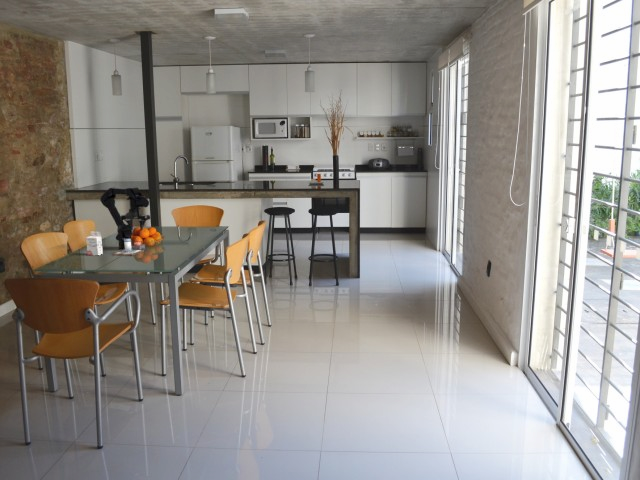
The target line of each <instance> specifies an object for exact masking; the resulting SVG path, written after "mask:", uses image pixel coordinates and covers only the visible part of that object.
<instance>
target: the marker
mask: <svg viewBox="0 0 640 480" xmlns="http://www.w3.org/2000/svg"><path fill="white" fill-rule="evenodd" d="M124 244H125V249H124V250H125V252H131V251H132V248H131V246H132V238H131V239H124Z"/></svg>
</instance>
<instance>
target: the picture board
mask: <svg viewBox="0 0 640 480" xmlns="http://www.w3.org/2000/svg"><path fill="white" fill-rule="evenodd" d="M144 252H145V249H144V250H132V251H131V252H125V249H121V250H120V251H117V252H114V253H112V256H116V257H117V256H122V257H124V256H125V257H134V256H136V255H138V254H141V253H144Z"/></svg>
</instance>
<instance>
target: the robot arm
mask: <svg viewBox="0 0 640 480" xmlns="http://www.w3.org/2000/svg"><path fill="white" fill-rule="evenodd" d="M117 195H124V196H127V198H126V200H127V201H129V207H130V208H128V212H126V213H125V214H123V215H122V214H120V212H119V211H118V208H117V207H116V200H115V199H116V197H117ZM99 200H100V202H101V204H102V206H103V207H105V208H106V209H107V210H108V212H109V213H110V215H111V217H112V219H113V221H114V223H115V224H116V226H117V230H116V231H117V235H116V236H115V240H116V241H118V247H117V249H118V250H125V244H124V239H131V240H132V233H133V229H134V228H133V227H134V226H133V225H134V224H133V223H134V221H133V220H138V222H139V228H140V231H143V228H144V226H145V224H146V221H149V220H151V216H150V214H143V215H142V213H140V212H141V211H140V210H141V208H148V207H149V206H150V201H149V200H148V198H147V196H143V194H142V192H141V191H140V189H139V187H137V186H135V187H134V186H133V187H127V188H122V187H115V186H113V187H110V188H108V189H107V190H106V191H105V192H104V193H103V194H102V195H101V196H100V199H99ZM125 223H127V224H125Z"/></svg>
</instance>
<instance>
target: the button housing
mask: <svg viewBox="0 0 640 480" xmlns="http://www.w3.org/2000/svg"><path fill="white" fill-rule="evenodd" d="M145 246H146V244H141V246H134V245H131V248H132V250H144V251H145V249H146V247H145Z"/></svg>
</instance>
